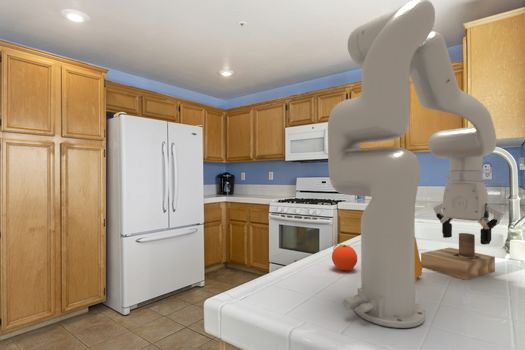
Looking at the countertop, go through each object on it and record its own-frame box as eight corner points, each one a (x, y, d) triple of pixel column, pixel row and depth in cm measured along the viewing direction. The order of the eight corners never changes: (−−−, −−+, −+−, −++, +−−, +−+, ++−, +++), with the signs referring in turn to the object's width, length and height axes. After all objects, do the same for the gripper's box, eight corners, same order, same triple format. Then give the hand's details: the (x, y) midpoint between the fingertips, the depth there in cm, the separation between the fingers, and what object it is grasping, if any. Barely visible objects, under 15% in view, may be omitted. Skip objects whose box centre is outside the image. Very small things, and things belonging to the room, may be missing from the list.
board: (465, 279, 74) (465, 263, 74) (420, 267, 85) (420, 253, 85) (494, 271, 81) (494, 256, 81) (449, 260, 91) (449, 247, 91)
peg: (470, 273, 79) (470, 236, 79) (455, 269, 82) (455, 233, 82) (478, 271, 81) (478, 234, 81) (463, 267, 84) (463, 232, 84)
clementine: (324, 267, 85) (323, 242, 85) (341, 263, 88) (341, 240, 88) (344, 275, 78) (344, 248, 78) (362, 271, 82) (362, 245, 82)
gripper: (427, 177, 87) (426, 236, 87) (494, 177, 72) (494, 248, 72) (442, 178, 91) (442, 234, 91) (510, 178, 76) (510, 245, 75)
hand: (465, 240), depth 81 cm, fingers open, 9 cm apart
